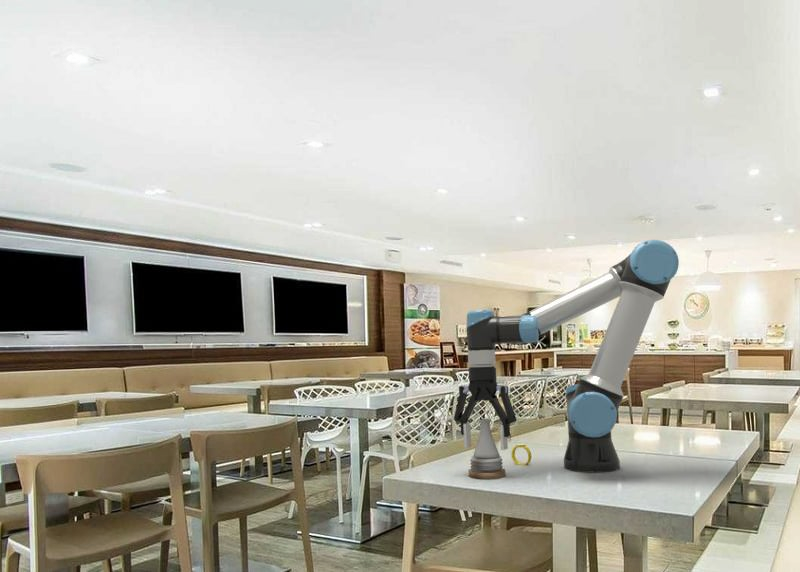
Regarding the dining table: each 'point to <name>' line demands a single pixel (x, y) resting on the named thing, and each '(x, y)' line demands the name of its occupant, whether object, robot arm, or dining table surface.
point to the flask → (485, 442)
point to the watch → (527, 452)
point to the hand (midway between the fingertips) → (485, 448)
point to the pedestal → (486, 468)
